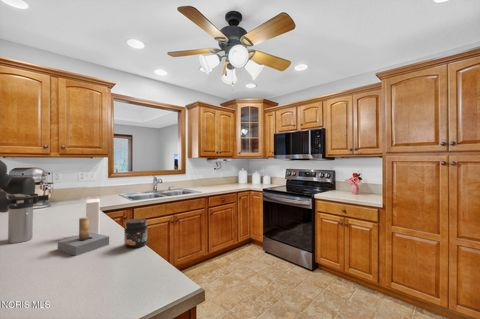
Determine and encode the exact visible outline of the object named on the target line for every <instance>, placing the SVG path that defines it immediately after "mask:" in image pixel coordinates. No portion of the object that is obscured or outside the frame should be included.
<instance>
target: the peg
mask: <svg viewBox="0 0 480 319" xmlns="http://www.w3.org/2000/svg"><path fill="white" fill-rule="evenodd" d="M78 222H79V223H78V225H79V227H78V236H79V241H85V240H88V239H89V217H86V216H85V217H80V218H79V219H78Z"/></svg>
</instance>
